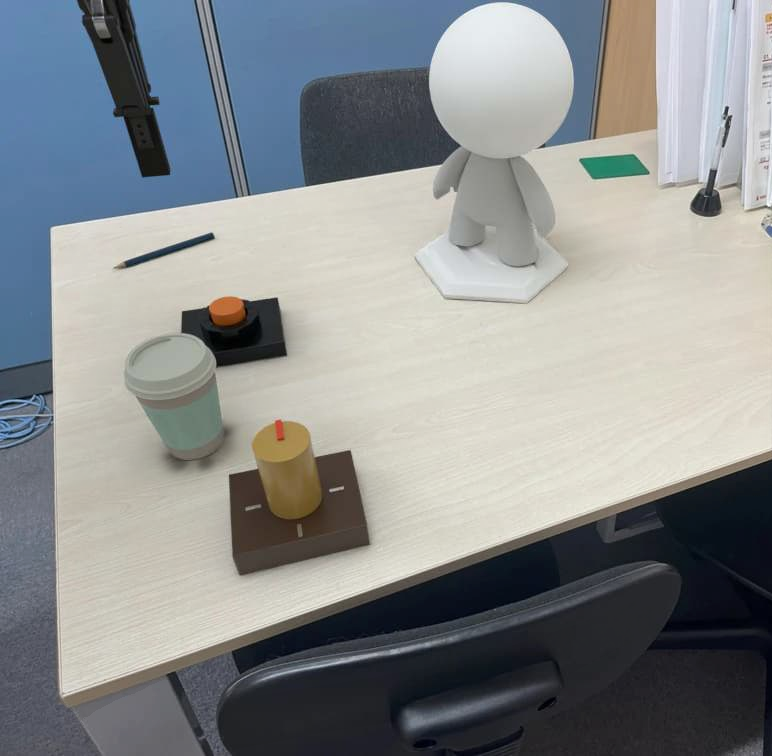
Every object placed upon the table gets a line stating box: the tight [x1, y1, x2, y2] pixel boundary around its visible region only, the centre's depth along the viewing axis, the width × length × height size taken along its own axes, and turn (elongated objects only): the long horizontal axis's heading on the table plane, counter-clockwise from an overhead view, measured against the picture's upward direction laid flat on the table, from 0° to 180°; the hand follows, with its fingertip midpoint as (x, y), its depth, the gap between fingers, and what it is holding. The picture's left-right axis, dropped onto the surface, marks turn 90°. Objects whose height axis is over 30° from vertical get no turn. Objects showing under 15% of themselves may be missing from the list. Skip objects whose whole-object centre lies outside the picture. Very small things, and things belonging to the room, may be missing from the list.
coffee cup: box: [123, 332, 225, 461], centre depth 73 cm, size 8×9×12 cm
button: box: [208, 295, 246, 326], centre depth 88 cm, size 4×4×2 cm
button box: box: [180, 297, 288, 368], centre depth 89 cm, size 12×10×4 cm
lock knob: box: [251, 418, 322, 519], centre depth 65 cm, size 5×5×8 cm
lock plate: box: [228, 449, 371, 576], centre depth 69 cm, size 12×10×3 cm
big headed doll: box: [414, 1, 575, 304], centre depth 95 cm, size 20×23×35 cm
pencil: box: [113, 231, 215, 269], centre depth 105 cm, size 1×1×15 cm
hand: (156, 173), depth 75 cm, fingers closed
